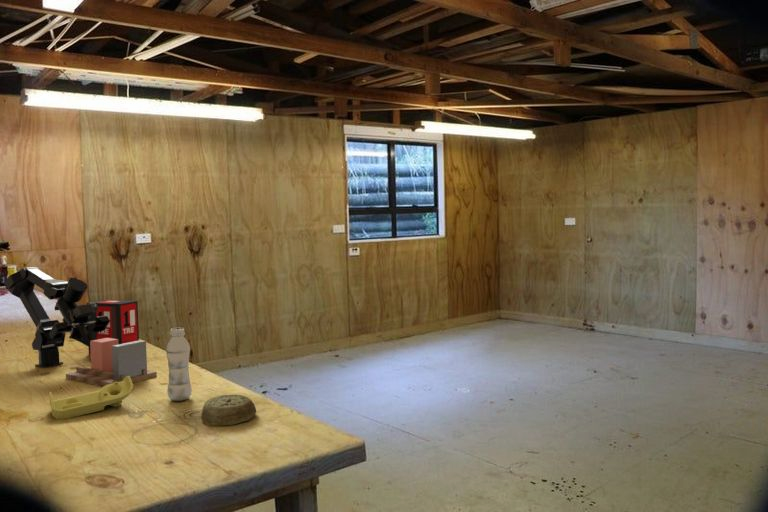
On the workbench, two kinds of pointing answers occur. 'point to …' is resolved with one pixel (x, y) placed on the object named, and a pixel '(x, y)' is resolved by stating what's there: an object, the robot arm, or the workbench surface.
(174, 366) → the plastic bottle
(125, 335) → the cleaning product box
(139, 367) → the end stop
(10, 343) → the workbench surface
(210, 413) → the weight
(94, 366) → the pink rectangular block
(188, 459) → the workbench surface
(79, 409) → the plastic component
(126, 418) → the workbench surface
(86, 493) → the workbench surface
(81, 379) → the wooden pallet
